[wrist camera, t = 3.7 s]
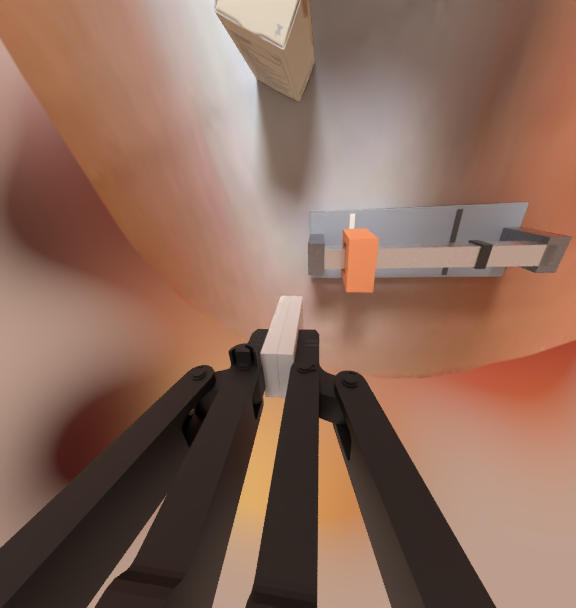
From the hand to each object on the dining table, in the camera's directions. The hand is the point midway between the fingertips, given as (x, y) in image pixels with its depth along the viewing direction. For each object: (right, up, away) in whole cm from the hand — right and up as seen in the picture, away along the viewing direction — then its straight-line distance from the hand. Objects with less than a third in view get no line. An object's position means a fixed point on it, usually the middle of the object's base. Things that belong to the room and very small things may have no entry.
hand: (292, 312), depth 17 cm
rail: (+17, +9, +17) cm, 26 cm away
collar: (+9, +8, +15) cm, 19 cm away
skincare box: (-1, +29, +11) cm, 31 cm away
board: (+17, +10, +18) cm, 27 cm away
